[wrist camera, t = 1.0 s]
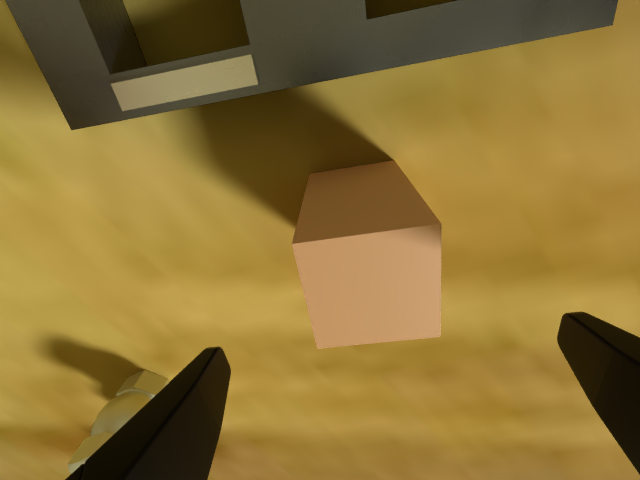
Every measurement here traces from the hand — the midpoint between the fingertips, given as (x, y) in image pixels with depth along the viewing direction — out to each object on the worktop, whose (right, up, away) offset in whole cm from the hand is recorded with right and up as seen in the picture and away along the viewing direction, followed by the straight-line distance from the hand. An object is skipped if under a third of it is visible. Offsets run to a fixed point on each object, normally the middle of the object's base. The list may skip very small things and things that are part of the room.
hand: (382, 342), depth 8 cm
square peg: (0, +5, +9) cm, 10 cm away
